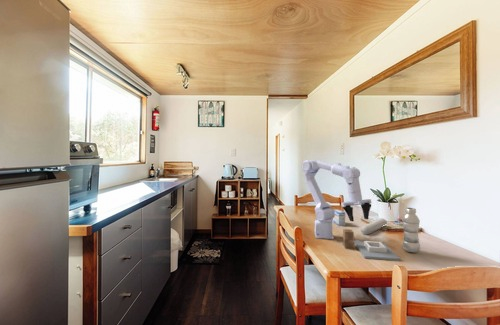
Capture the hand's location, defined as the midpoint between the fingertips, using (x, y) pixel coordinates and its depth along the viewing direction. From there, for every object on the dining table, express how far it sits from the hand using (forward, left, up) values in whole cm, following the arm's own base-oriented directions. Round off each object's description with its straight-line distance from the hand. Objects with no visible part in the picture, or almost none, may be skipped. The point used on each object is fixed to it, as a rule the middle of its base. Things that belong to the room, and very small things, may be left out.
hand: (359, 220), depth 106 cm
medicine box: (-2, +38, -14) cm, 41 cm away
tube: (+16, +29, -14) cm, 36 cm away
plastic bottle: (+22, -1, -14) cm, 26 cm away
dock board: (+6, -3, -14) cm, 15 cm away
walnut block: (-5, 0, -14) cm, 14 cm away
